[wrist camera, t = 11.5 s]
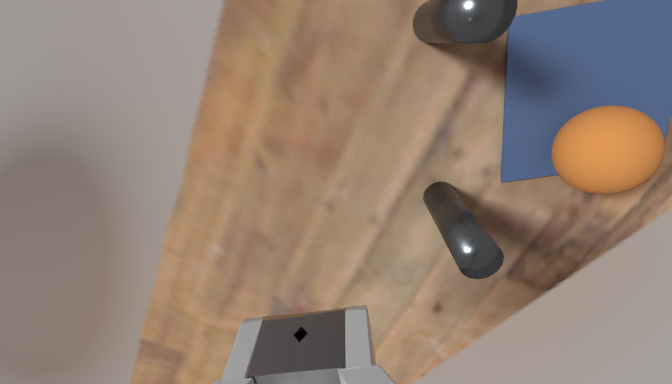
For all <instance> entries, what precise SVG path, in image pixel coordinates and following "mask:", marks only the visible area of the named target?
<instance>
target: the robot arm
mask: <svg viewBox="0 0 672 384" xmlns="http://www.w3.org/2000/svg"><path fill="white" fill-rule="evenodd" d="M212 384H395V382H394V381H393V380H392V379H391V378H390V377H389V375H388V374H387V373H386V372H385V371H384V370H383V369H382V367H381V366H380V365H376V360H375V354H374V347H373V340H372V334H371V327H370V321H369V315H368V309H367V306H366V305H362V306H354V307H346V308H340V309H332V310H324V311H316V312H308V313H299V314H288V315H277V316H266V317H260V318H248V319H245V320H244V321H243V322H242V323H241V325H240V328H239V331H238V334H237V336H236V339H235V342H234V345H233V348H232V350H231V353H230V356H229V359H228V361H227V364H226V367H225V370H224V372H223V375H222V378H221V381H215V382H213V383H212Z"/></svg>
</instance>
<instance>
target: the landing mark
mask: <svg viewBox="0 0 672 384" xmlns="http://www.w3.org/2000/svg"><path fill="white" fill-rule="evenodd" d="M611 105H613V106H624V107H629V108H633V109H636V110H638V111H641V112H642V113H644V114H646V115H648V116H649V117H650V118H651V119H653V121H654V122H655V123H656V124H657V125H658V126H659V128H660V130H661V131H662V134H663V136H664V141H665V137H666V133H667V129H668V125H669V121H670V117H671V113H672V0H605V1H599V2H594V3H588V4H582V5H577V6H571V7H565V8H560V9H554V10H549V11H543V12H537V13H532V14H526V15H520V16H515V17H514V19H513V21H512V23H511V25H510V26H509V28H508V34H507V56H506V79H505V101H504V124H503V146H502V169H501V182H509V181H516V180H523V179H530V178H538V177H545V176H552V175H559V174H558V173H557V172H556V170H555V168H554V165H553V162H552V157H551V151H552V145H553V141H554V139H555V136H556V135H557V133H558V131H559V130H560V129H561V127H562V126H563V125H564V124H565V123H566V122H567V121H569V120H570V119H571V118H573V117H574V116H576V115H578V114H579V113H581V112H584V111H586V110H589V109H592V108H596V107H601V106H611Z"/></svg>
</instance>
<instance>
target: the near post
mask: <svg viewBox="0 0 672 384" xmlns="http://www.w3.org/2000/svg"><path fill="white" fill-rule="evenodd" d="M516 10H517V0H429V1H427V2H425V3H424V4H422V5H421V6H420V7H419V8H418V10H417V11H416V13H415V16H414V19H413V29H414V32H415V34H416V36H417V37H418V38H419V39H420V40H421V41H423V42H425V43H487V42H490V41H493V40H495V39H497V38H498V37H500V36H501V35H502V34H503V33H504V32H505V31H506V30H507V29H508V28H509V26H510V25H511V23H512V21H513V19H514V17H515V14H516Z"/></svg>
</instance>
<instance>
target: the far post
mask: <svg viewBox="0 0 672 384" xmlns="http://www.w3.org/2000/svg"><path fill="white" fill-rule="evenodd" d="M423 199H424V202H425V204H426V206H427V208H428V210H429V212H430V214H431V216H432V218H433V220H434V222H435V224H436V225H437V227H438V229H439V231H440V233H441V235H442V237H443V239H444V241H445V243H446V245H447V246H448V248H449V250H450V252H451V254H452V256H453V258H454V260H455V262H456V264H457V266H458V267H459V269H460V271H461V272H462V274H464V275H465V276H467V277H469V278H473V279H482V278H486V277H489V276H491V275H493V274H494V273H495V272H497V271H498V270H499V268H500V267H501V265H502V263H503V259H504V256H503V252H502V250H501V249H500V247H499V246H498V245H497V244H496V242H495V241H494V240H493V238H492V237H491V236H490V235H489V233H488V232H487V231H486V229H485V228H484V227H483V226H482V224H481V223H480V222H479V220H478V219H477V218H476V217H475V215H474V214H473V213H472V211H471V210H470V209H469V208H468V206H467V205H466V204H465V202H464V201H463V200H462V199H461V197H460V196H459V195H458V193H457V192H456V191H455V189H454V188H453V187H452V186H451V185H450V184H448V183H446V182H436V183H433V184H432V185H430V186H429V187H428V188H427V189H426V190H425V192H424V196H423Z"/></svg>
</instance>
